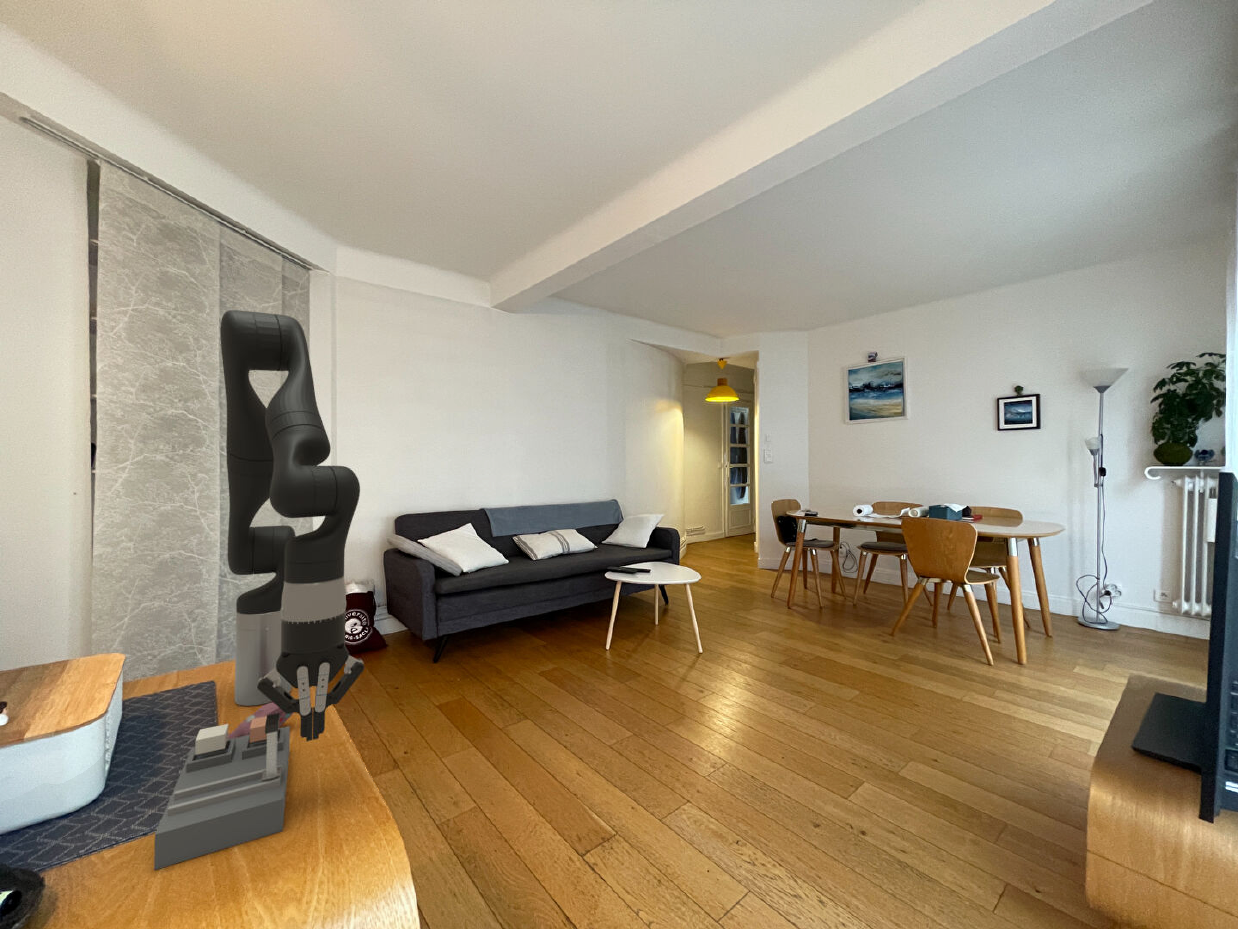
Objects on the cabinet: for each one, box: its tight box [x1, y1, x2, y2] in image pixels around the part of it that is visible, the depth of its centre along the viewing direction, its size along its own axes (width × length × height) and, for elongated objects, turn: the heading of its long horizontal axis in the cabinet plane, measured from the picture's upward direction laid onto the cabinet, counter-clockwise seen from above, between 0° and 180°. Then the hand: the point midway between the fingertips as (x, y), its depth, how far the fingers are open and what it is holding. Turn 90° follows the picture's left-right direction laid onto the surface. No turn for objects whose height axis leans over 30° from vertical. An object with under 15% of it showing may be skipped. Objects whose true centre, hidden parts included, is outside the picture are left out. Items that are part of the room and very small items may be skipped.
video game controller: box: [228, 702, 294, 739], centre depth 83 cm, size 10×5×7 cm, turn 169°
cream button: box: [194, 723, 229, 755], centre depth 71 cm, size 3×3×2 cm
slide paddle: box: [262, 713, 281, 782], centre depth 66 cm, size 3×2×8 cm, turn 32°
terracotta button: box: [250, 716, 267, 743], centre depth 74 cm, size 3×3×2 cm
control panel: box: [153, 725, 291, 871], centre depth 68 cm, size 20×12×5 cm, turn 31°
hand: (312, 737), depth 68 cm, fingers closed
